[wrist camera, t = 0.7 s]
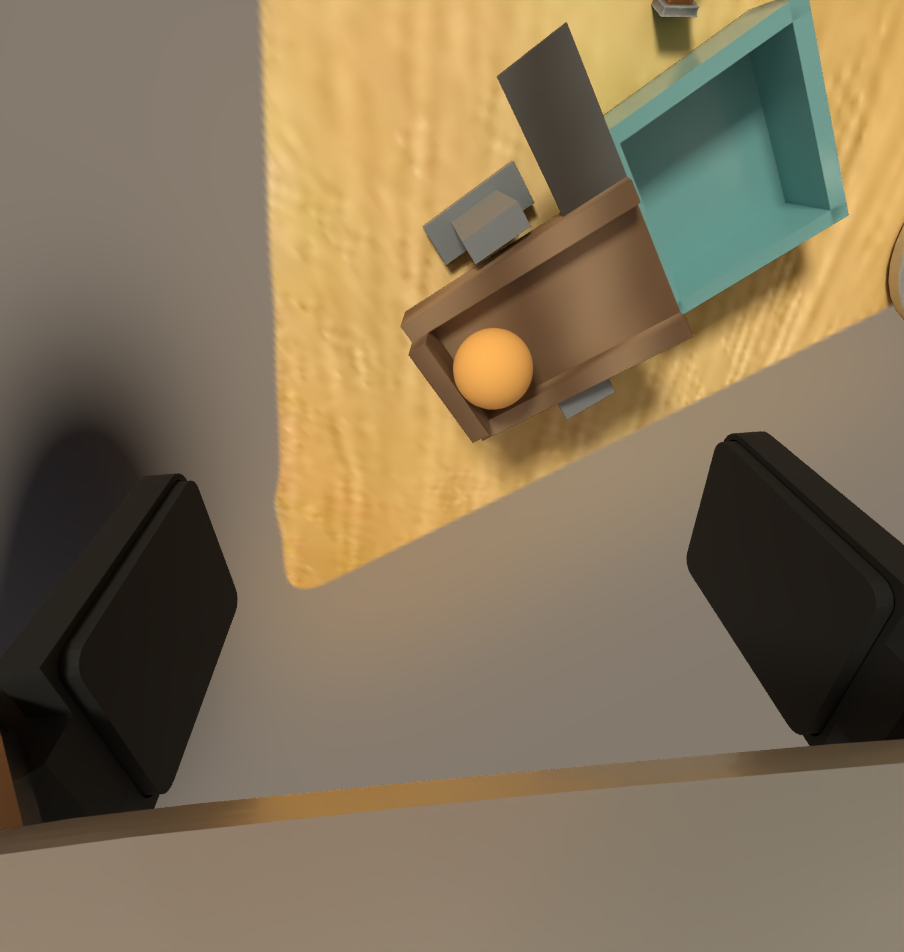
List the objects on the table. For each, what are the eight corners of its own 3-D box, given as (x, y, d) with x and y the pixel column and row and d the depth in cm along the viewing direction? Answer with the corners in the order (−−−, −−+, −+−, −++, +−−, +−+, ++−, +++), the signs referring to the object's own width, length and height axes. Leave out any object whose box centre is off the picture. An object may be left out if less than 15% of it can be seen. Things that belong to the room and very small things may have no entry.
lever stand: (511, 160, 29) (541, 167, 23) (600, 340, 35) (644, 385, 29) (422, 226, 31) (427, 249, 24) (523, 388, 37) (548, 440, 30)
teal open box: (749, 9, 27) (806, -12, 23) (795, 205, 32) (848, 215, 28) (572, 137, 29) (598, 137, 25) (642, 300, 34) (672, 320, 30)
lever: (555, 28, 23) (575, 16, 18) (665, 301, 30) (702, 349, 25) (345, 193, 27) (311, 222, 22) (483, 397, 34) (482, 455, 29)
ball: (522, 308, 27) (532, 338, 23) (533, 379, 29) (543, 415, 26) (445, 325, 27) (444, 356, 24) (461, 393, 29) (462, 430, 26)
